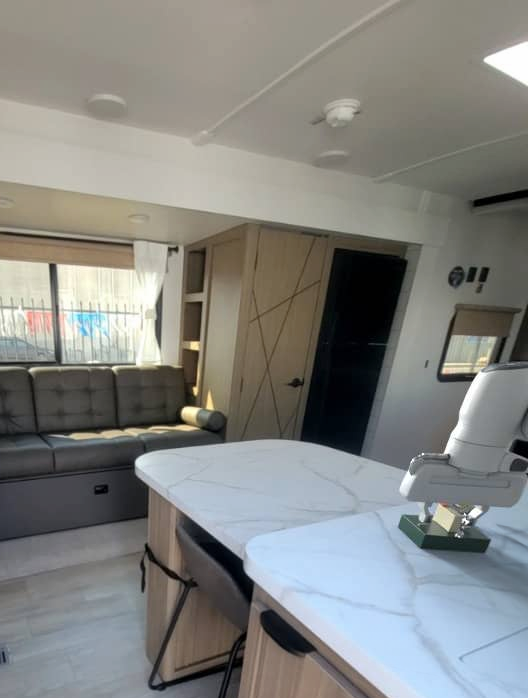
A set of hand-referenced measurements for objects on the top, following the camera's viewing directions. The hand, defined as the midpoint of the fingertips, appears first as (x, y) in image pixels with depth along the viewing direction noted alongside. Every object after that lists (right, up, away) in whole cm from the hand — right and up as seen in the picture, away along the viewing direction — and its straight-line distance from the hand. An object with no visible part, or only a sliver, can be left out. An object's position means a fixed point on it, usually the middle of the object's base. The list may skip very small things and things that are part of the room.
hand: (445, 522), depth 80 cm
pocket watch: (+9, 0, +10) cm, 14 cm away
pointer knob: (0, -1, 0) cm, 1 cm away
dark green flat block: (0, -3, +2) cm, 4 cm away
